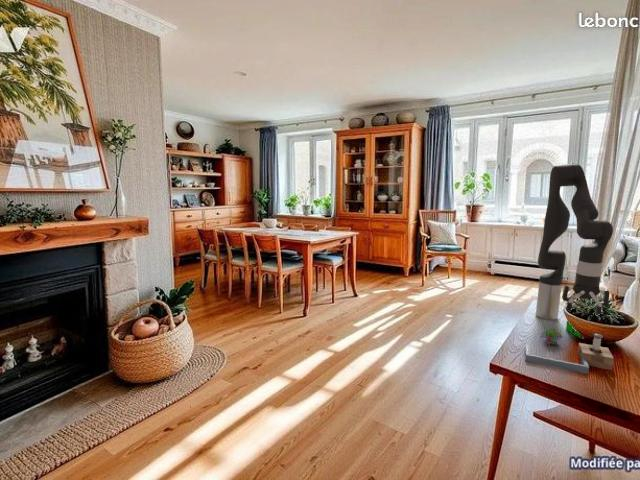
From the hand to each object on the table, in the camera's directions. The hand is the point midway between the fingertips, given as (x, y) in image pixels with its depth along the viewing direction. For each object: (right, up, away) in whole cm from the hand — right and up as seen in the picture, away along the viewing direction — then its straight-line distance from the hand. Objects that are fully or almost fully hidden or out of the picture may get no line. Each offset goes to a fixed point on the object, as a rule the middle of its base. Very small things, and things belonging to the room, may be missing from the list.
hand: (582, 313), depth 138 cm
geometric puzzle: (-7, -15, +9) cm, 18 cm away
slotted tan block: (0, -17, -5) cm, 18 cm away
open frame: (-14, -17, -5) cm, 22 cm away
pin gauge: (0, -17, -5) cm, 18 cm away
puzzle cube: (+14, -13, +18) cm, 26 cm away
